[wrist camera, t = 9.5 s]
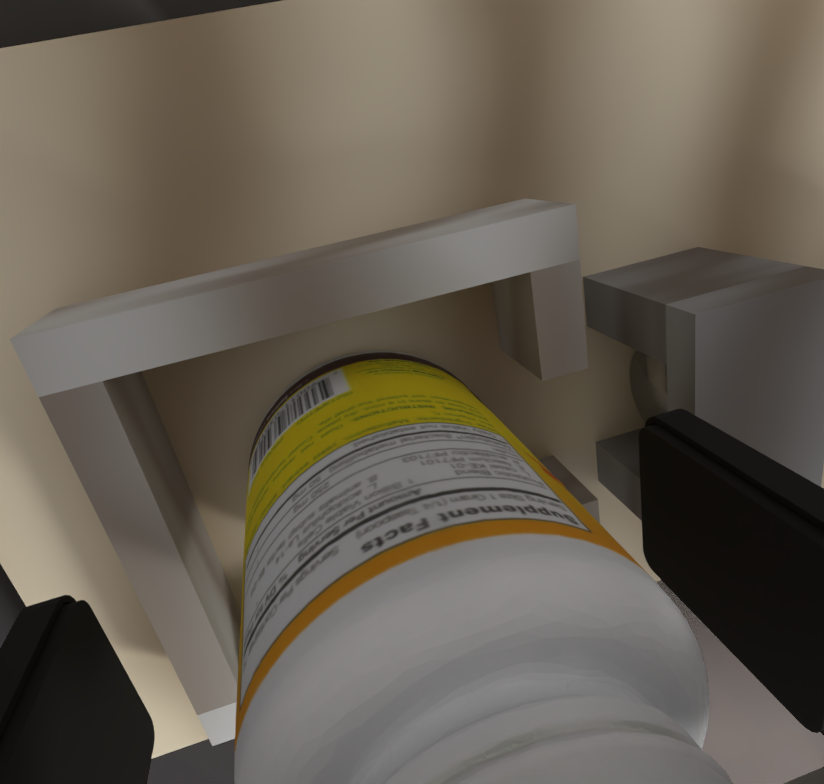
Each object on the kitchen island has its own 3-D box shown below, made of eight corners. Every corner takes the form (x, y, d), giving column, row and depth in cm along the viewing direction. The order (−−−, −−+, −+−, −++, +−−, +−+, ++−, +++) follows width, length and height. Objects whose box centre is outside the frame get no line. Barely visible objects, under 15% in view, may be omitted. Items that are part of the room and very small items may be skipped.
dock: (931, -97, 13) (1275, -233, 9) (853, 482, 20) (1030, 576, 15) (-223, 104, 10) (-635, 49, 5) (133, 728, 16) (83, 944, 12)
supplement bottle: (463, 550, 15) (775, 1144, 6) (244, 558, 14) (208, 1360, 4) (501, 347, 13) (1037, 747, 4) (253, 331, 12) (223, 897, 3)
